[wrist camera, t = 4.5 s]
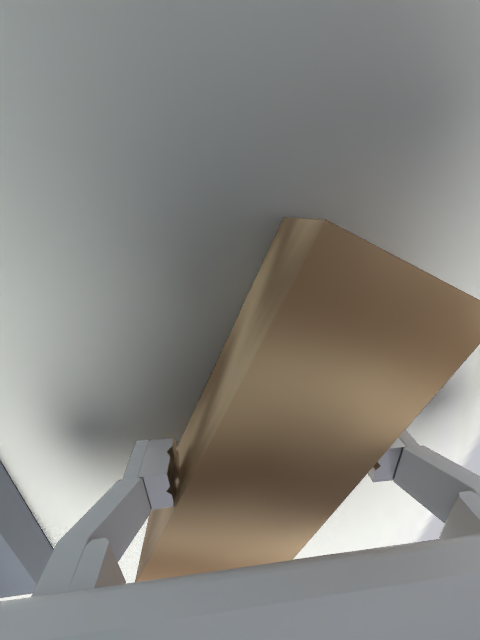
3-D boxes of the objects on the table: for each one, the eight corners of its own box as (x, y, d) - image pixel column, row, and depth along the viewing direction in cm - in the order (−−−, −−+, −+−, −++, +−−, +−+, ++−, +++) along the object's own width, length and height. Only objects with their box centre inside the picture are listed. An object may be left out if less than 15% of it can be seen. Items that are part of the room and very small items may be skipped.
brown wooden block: (281, 216, 9) (326, 219, 5) (404, 278, 11) (505, 313, 7) (153, 493, 14) (133, 588, 11) (248, 509, 16) (258, 598, 12)
